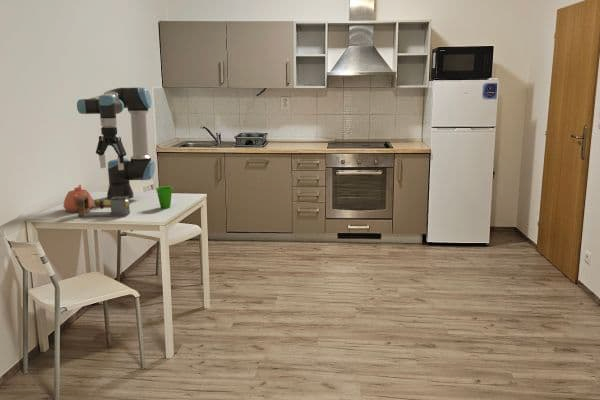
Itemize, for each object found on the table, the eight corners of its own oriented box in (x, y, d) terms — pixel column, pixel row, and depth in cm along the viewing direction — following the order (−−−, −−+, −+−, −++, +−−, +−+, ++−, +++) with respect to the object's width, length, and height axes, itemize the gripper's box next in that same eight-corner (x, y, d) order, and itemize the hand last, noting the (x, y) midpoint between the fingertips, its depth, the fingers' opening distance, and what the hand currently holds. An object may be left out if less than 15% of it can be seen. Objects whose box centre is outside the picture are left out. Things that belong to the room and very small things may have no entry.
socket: (84, 213, 288) (82, 195, 286) (89, 213, 288) (88, 195, 286) (78, 217, 280) (76, 198, 278) (84, 217, 280) (82, 198, 278)
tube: (98, 207, 286) (97, 198, 285) (129, 207, 287) (129, 197, 286) (94, 209, 281) (94, 200, 280) (127, 209, 282) (126, 199, 281)
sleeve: (115, 213, 288) (114, 196, 286) (129, 213, 288) (128, 196, 286) (111, 216, 281) (110, 198, 279) (126, 216, 282) (125, 198, 280)
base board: (84, 213, 288) (84, 212, 288) (130, 213, 289) (130, 211, 289) (78, 217, 280) (78, 215, 280) (125, 216, 281) (125, 215, 281)
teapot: (67, 206, 306) (65, 184, 304) (96, 204, 310) (94, 183, 308) (61, 215, 286) (58, 191, 283) (91, 213, 289) (89, 190, 287)
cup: (176, 206, 304) (175, 186, 302) (168, 209, 296) (167, 189, 294) (162, 205, 307) (161, 186, 305) (153, 208, 298) (152, 189, 296)
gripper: (86, 126, 276) (89, 168, 281) (119, 128, 263) (122, 171, 268) (98, 125, 283) (102, 166, 287) (131, 127, 269) (134, 169, 274)
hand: (112, 168), depth 277 cm, fingers open, 13 cm apart
